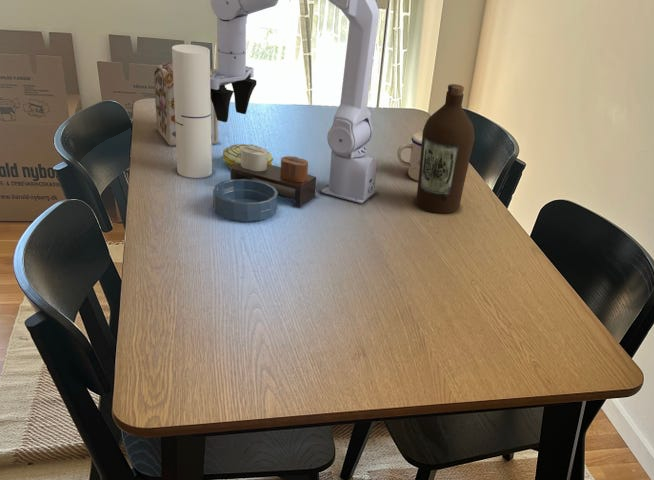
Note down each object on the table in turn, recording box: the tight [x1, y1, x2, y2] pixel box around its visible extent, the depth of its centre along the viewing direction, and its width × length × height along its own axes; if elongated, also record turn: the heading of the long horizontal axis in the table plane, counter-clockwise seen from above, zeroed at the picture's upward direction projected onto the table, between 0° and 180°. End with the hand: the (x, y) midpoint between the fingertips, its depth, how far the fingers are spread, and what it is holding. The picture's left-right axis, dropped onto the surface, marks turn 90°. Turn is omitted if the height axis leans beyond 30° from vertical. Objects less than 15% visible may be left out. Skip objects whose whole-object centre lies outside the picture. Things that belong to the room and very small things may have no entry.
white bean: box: [241, 145, 269, 171], centre depth 154 cm, size 6×4×4 cm
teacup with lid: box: [396, 131, 423, 182], centre depth 172 cm, size 12×9×12 cm
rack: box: [230, 163, 317, 209], centre depth 155 cm, size 16×7×4 cm, turn 69°
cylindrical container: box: [171, 43, 213, 179], centre depth 154 cm, size 7×7×25 cm
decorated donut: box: [222, 143, 274, 169], centre depth 166 cm, size 10×11×4 cm
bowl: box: [212, 179, 279, 222], centre depth 147 cm, size 12×12×4 cm
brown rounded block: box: [280, 155, 309, 182], centre depth 152 cm, size 6×4×4 cm
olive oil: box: [415, 83, 475, 214], centre depth 155 cm, size 11×11×25 cm
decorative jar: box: [153, 61, 219, 147], centre depth 173 cm, size 12×12×18 cm
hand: (231, 116), depth 163 cm, fingers open, 7 cm apart
